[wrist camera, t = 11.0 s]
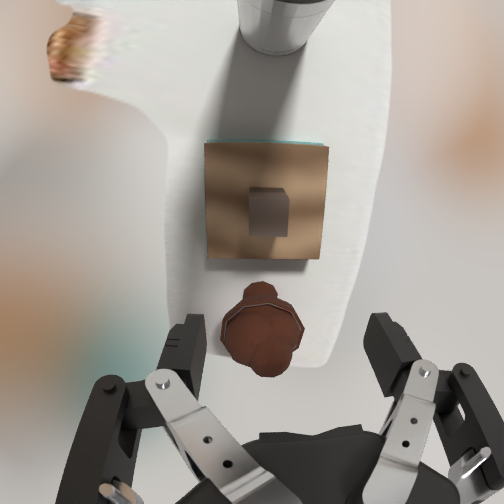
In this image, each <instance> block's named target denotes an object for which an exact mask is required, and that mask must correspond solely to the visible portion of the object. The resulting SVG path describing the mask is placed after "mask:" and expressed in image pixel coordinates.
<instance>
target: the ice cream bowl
mask: <svg viewBox="0 0 504 504" xmlns="http://www.w3.org/2000/svg"><path fill="white" fill-rule="evenodd" d="M277 296H278V293H277V292H276V290H275V288H274V286H273V285H271V284H268V283H266V282H264V281H262V282H256V283H251V284H250V285H249V286H248V287H247V288H246V289H245V290H244V294H243V300H241V301H240V302H239V303H238V304H237V305H236V306H235V307H233V308H232V309H231V310H230V311H229V312H228V313H226V314H225V316H224V318H223V321H222V330H221V339H220V340H221V342H222V343H223V344H224V346H225V347H226V349H227V350H228V352H229V353H230V355H231V356H232V359H233V360H234V361H236V362H237V363H240V364H242V365H245V366H248V367H251V368H252V370H253V371H254V372H255V373H256V374H257V375H259V376H261V377H275V376H278V375H280V374H282V373H283V372H284V371H285V370H286V369H287V368H288V367H289V365H290V362H291V359H292V352H294V351H295V350H296V349H298V348H299V345H300V342H301V339H302V336H303V333H304V330H305V328H304V326H303V324H302V323H301V321H300V319H299V317H298V315H297V314H296V312H295V310H294V308H293V307H292V305H291V304H289V303H288V302H286V301H283V300H281V299H278V298H277Z"/></svg>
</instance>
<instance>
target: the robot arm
mask: <svg viewBox="0 0 504 504" xmlns="http://www.w3.org/2000/svg"><path fill="white" fill-rule="evenodd" d="M334 1H335V0H237V3H238V13H239V23H240V30H241V34H242V36H243V38H244V40H245V41H246V42H247V44H248V45H249V46H251V47H252V48H253V49H255V50H257V51H259V52H261V53H264V54H267V55H274V56H279V55H287V54H290V53H293V52H295V51H297V50H298V49H300V48H301V47H302V46H303V45H304V44H305V43H306V41H307V40H308V38H309V37H310V35H311V34H312V32H313V31H314V29H315V28H316V26H317V25H318V24H319V22H320V21H321V19H322V18H323V16H324V15H325V13H326V12H327V11H328V9H329V8H330V6H331V5H332V3H333V2H334ZM363 343H364V349H365V352H366V354H367V356H368V359H369V361H370V363H371V366H372V368H373V370H374V372H375V375H376V378H377V380H378V382H379V385H380V387H381V390H382V392H383V395H384V397H389V396H394V401H393V403H392V405H391V407H390V410H389V412H388V415H387V417H386V419H385V421H384V424H383V426H382V428H381V430H380V432H379V434H376V433H373V432H369V431H363V429H362V426H361V424H359V425H353V426H345V427H338V428H335V429H332V430H329V431H326V432H323V433H321V434H318V435H313V436H311V435H303V434H295V433H289V432H270V433H260V434H259V439H258V440H254V441H251V442H248V443H246V444H243V445H240V444H239V443H238V442H237V441H236V440H235V438H234V437H233V436H232V435H231V434H230V433H229V432H228V431H227V429H226V428H225V427H224V426H223V425H222V424H221V422H220V421H219V420H218V419H217V418H216V417H215V416H214V414H213V413H212V412H211V411H210V409H209V408H207V407H206V406H204V407H202V406H201V405H200V404H199V403H198V397H199V391H200V385H201V379H202V373H203V367H204V361H205V355H206V346H207V341H206V330H205V320H204V315H203V314H187V317H186V320H185V323H184V324H176V325H175V326H174V327H173V328H172V329H171V330H170V331H169V334H168V337H167V340H166V342H165V346H164V348H163V351H162V354H161V357H160V360H159V363H158V366H157V369H156V370H155V371H153V372H151V373H150V374H149V375H148V376H147V378H146V379H145V380H142V381H137V382H129V383H125V382H124V380H123V379H122V378H121V377H119V376H117V375H106V376H103V377H101V378H100V379H98V380H97V381H96V383H95V384H94V387H93V389H92V392H91V394H90V397H89V399H88V402H87V405H86V407H85V410H84V413H83V415H82V418H81V421H80V423H79V426H78V429H77V432H76V435H75V438H74V441H73V444H72V447H71V450H70V453H69V456H68V459H67V463H66V466H65V469H64V473H63V476H62V480H61V483H60V487H59V491H58V494H57V498H56V503H55V504H144V502H143V500H142V498H141V497H140V496H139V495H137V493H136V492H134V491H133V490H132V489H131V487H132V481H133V475H134V469H135V463H136V458H137V452H138V447H139V442H140V436H141V432H142V429H144V428H152V427H159V426H162V427H163V429H164V430H165V432H166V433H167V435H168V436H169V438H170V440H171V441H172V443H173V444H174V446H175V447H176V449H177V450H178V452H179V453H180V455H181V456H182V458H183V460H184V461H185V463H186V465H187V466H188V468H189V469H190V471H191V472H192V473H193V475H194V476H195V477H196V479H197V480H198V481H199V483H198V484H197V485H196V486H195V487H194V488H193V489H192V490H191V491H190V492H188V493H187V494H186V495H185V496H184V497H182V498H181V499H180V500H179V501H178V502H176V503H175V504H479V503H481V502H483V501H484V500H486V499H487V498H489V497H490V496H492V495H493V494H495V493H496V492H498V491H499V490H500V489H502V488H503V487H504V422H503V420H502V418H501V416H500V414H499V412H498V410H497V408H496V406H495V404H494V403H493V401H492V399H491V397H490V396H489V394H488V392H487V390H486V388H485V387H484V385H483V383H482V382H481V380H480V378H479V377H478V375H477V373H476V371H475V370H474V369H473V367H471V366H470V365H468V364H466V363H458V364H456V365H455V366H454V367H453V369H452V371H444V370H438V368H437V366H436V365H435V364H434V363H432V362H431V361H428V360H423V359H422V358H421V356H420V354H419V353H418V351H417V349H416V348H415V346H414V345H413V343H412V341H411V340H410V338H409V336H407V333H406V332H405V330H404V328H403V327H402V326H400V325H399V324H398V323H396V322H393V321H392V320H391V318H390V316H389V315H388V313H386V312H384V313H372V314H371V316H370V319H369V322H368V325H367V329H366V332H365V335H364V341H363ZM459 403H460V404H461V406H462V408H463V411H464V413H465V420H463V417H462V415H461V413H460V411H459V409H458V407H457V406H458V404H459ZM432 419H433V420H434V423H435V425H436V428H437V431H438V433H439V436H440V439H441V441H442V444H443V447H444V450H445V452H446V455H447V458H448V461H449V464H450V469H449V473H448V478H446V477H445V476H443V475H441V474H439V473H438V472H436V471H435V470H433V469H432V468H430V467H428V466H427V465H425V464H424V463H422V462H421V461H420V459H421V456H422V453H423V449H424V447H425V444H426V440H427V437H428V434H429V430H430V426H431V423H432Z"/></svg>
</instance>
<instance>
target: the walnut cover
mask: <svg viewBox="0 0 504 504" xmlns="http://www.w3.org/2000/svg"><path fill="white" fill-rule="evenodd" d="M328 155H329V147H327V146H323V145H311V144H295V143H273V142H207V143H204V156H205V204H206V232H207V254H208V258H246V259H319V256H320V248H321V239H322V229H323V219H324V209H325V197H326V185H327V171H328Z"/></svg>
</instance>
